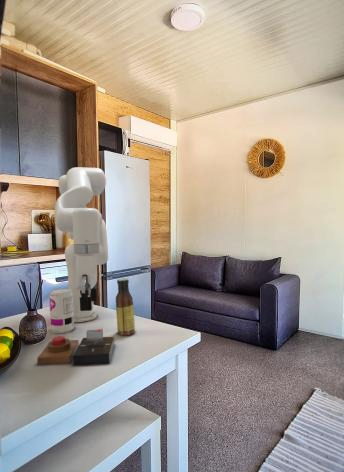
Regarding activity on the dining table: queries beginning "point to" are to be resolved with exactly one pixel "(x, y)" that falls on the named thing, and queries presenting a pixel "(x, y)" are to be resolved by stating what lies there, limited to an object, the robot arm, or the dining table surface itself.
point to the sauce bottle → (124, 308)
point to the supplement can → (61, 310)
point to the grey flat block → (95, 337)
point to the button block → (58, 353)
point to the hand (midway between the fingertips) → (88, 305)
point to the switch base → (94, 352)
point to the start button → (59, 340)
